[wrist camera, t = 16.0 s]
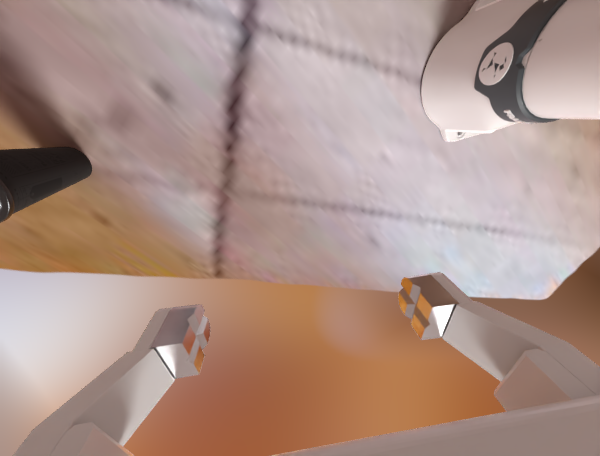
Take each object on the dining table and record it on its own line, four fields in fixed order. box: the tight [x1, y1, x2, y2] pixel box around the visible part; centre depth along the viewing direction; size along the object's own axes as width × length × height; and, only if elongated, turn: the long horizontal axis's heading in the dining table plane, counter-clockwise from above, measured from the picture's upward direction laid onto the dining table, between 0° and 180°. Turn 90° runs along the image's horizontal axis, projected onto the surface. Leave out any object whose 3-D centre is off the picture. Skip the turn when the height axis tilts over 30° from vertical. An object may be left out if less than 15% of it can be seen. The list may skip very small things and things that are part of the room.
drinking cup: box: [0, 147, 92, 223], centre depth 24 cm, size 8×8×20 cm
